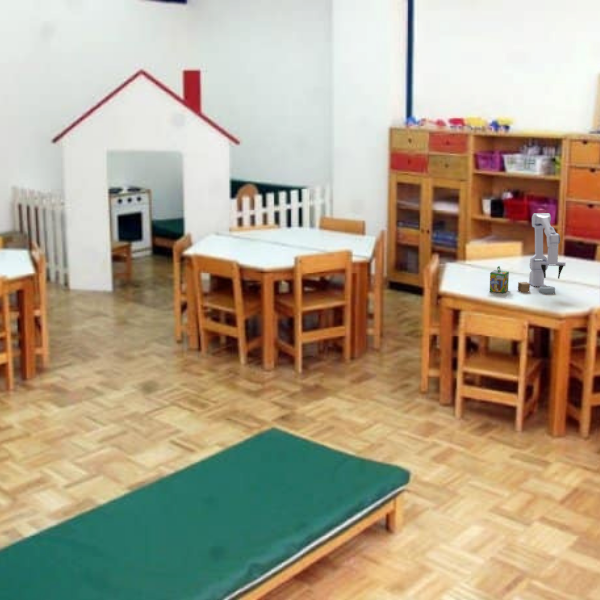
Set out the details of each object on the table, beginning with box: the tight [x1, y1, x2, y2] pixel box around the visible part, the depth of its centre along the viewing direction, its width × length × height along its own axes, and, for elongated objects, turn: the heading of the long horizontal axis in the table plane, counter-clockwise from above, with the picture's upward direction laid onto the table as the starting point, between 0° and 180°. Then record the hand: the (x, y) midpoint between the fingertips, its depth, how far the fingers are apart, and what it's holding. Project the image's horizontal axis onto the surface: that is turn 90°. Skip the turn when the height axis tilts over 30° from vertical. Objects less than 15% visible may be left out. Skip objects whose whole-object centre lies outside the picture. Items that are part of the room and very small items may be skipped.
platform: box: [538, 285, 556, 295], centre depth 519 cm, size 9×9×3 cm
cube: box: [517, 281, 531, 293], centre depth 522 cm, size 5×5×5 cm
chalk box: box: [489, 265, 510, 294], centre depth 522 cm, size 9×9×15 cm
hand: (551, 278), depth 511 cm, fingers open, 7 cm apart
